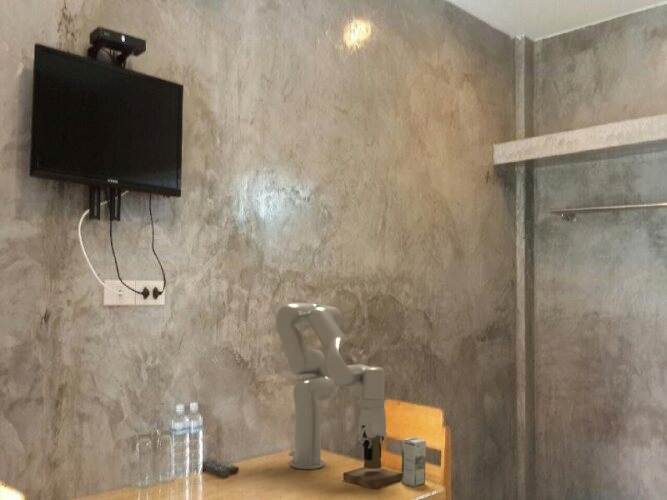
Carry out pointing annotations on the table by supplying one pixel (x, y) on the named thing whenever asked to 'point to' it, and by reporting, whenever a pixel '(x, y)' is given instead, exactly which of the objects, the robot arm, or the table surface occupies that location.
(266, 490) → the table surface
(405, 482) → the syrup box
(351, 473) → the walnut base
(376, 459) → the cork
